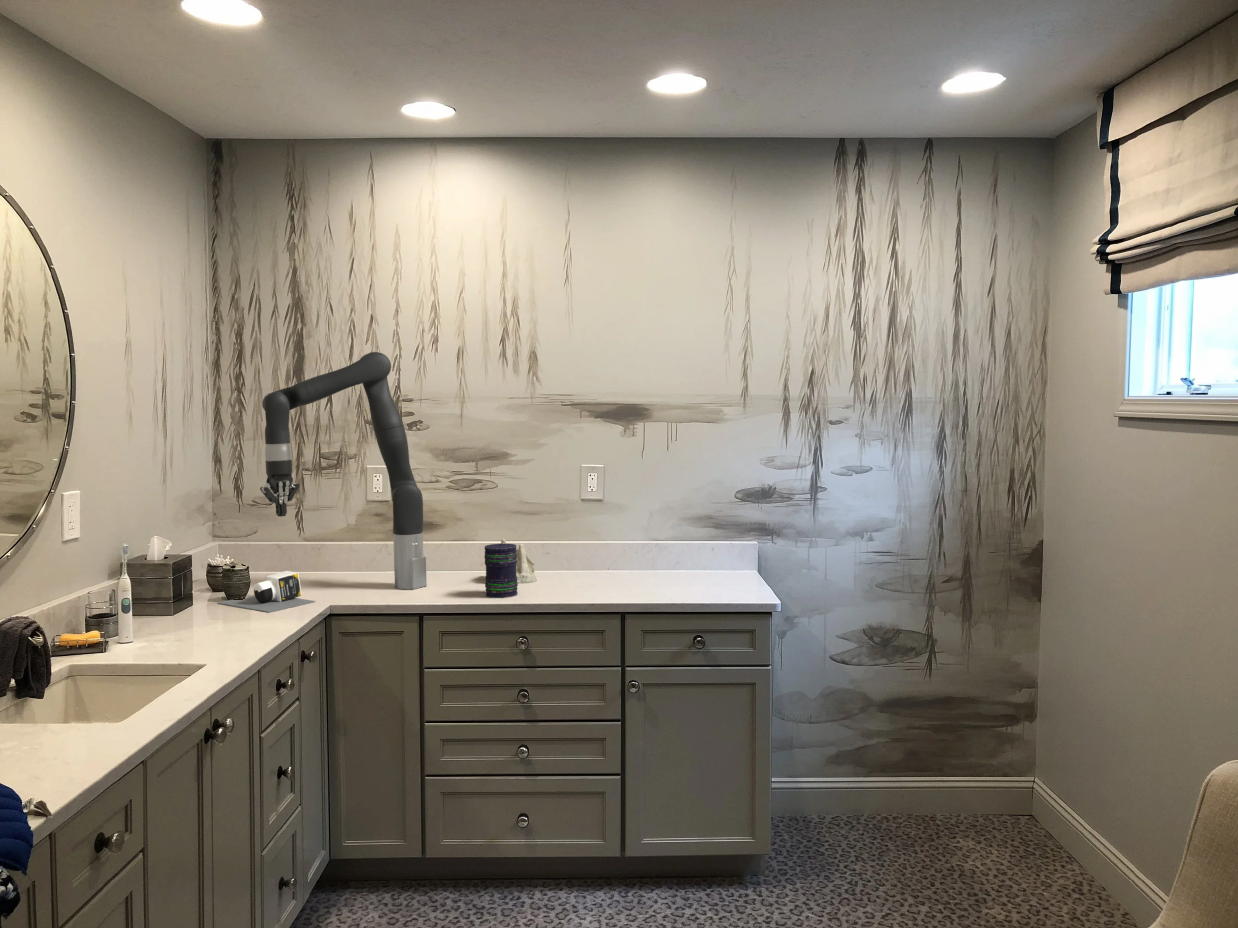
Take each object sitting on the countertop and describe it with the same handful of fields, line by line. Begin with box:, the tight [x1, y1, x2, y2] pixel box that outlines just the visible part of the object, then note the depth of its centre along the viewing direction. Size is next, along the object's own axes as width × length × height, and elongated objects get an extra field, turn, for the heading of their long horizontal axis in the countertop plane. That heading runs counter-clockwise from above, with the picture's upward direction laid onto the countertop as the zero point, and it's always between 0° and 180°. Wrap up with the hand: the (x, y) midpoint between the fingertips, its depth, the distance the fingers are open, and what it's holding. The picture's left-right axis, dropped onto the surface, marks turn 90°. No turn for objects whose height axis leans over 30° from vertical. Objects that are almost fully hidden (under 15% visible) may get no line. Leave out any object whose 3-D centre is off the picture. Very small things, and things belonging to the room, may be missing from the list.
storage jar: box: [484, 543, 519, 599], centre depth 287 cm, size 10×10×15 cm
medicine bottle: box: [253, 570, 303, 603], centre depth 282 cm, size 7×7×12 cm
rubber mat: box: [217, 594, 316, 614], centre depth 281 cm, size 24×16×1 cm, turn 57°
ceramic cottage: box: [500, 538, 538, 585], centre depth 310 cm, size 16×16×15 cm
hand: (281, 516), depth 284 cm, fingers closed
